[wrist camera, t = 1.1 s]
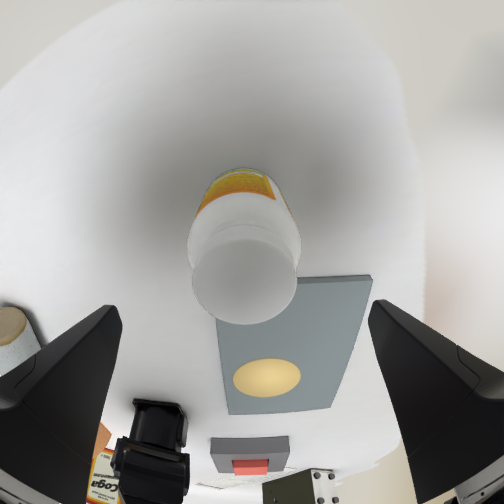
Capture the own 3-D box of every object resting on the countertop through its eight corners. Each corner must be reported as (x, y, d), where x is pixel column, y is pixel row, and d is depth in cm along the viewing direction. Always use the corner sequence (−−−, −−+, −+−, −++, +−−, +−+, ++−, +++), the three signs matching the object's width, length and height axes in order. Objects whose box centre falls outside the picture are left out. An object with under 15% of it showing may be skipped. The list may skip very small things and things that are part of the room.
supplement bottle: (188, 207, 19) (146, 288, 10) (242, 150, 17) (241, 185, 8) (244, 254, 21) (246, 355, 12) (298, 204, 19) (342, 282, 10)
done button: (235, 466, 37) (235, 475, 35) (233, 457, 35) (233, 467, 33) (265, 465, 37) (266, 474, 36) (267, 456, 35) (267, 466, 33)
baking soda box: (132, 455, 43) (121, 515, 28) (136, 463, 45) (127, 517, 31) (93, 443, 41) (79, 500, 27) (100, 452, 44) (88, 504, 30)
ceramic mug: (35, 308, 23) (1, 354, 16) (56, 357, 27) (33, 401, 20) (-13, 292, 22) (-44, 327, 15) (7, 338, 26) (-17, 373, 19)
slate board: (228, 409, 31) (228, 415, 30) (213, 280, 22) (211, 287, 21) (329, 402, 31) (330, 408, 30) (369, 275, 22) (373, 281, 21)
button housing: (218, 459, 41) (218, 472, 38) (211, 437, 35) (210, 453, 33) (281, 458, 41) (283, 471, 38) (288, 436, 36) (290, 451, 33)
